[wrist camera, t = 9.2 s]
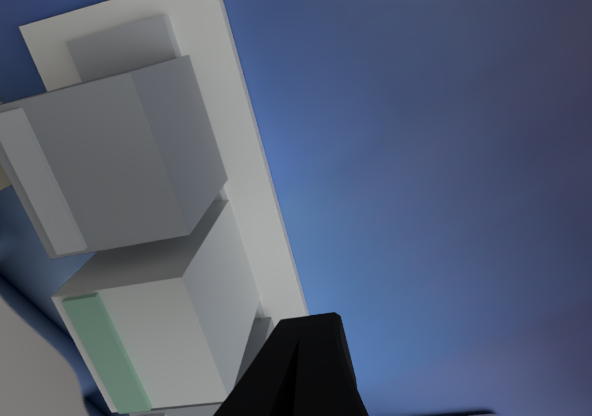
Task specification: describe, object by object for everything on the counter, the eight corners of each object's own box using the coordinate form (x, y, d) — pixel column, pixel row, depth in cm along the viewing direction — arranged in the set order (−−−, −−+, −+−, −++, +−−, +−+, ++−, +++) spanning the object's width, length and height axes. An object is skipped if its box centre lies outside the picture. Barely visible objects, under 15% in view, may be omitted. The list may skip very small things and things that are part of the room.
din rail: (335, 409, 25) (331, 533, 19) (200, 422, 26) (158, 540, 20) (214, -29, 17) (143, -48, 11) (28, 26, 18) (-123, 34, 12)
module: (260, 297, 21) (228, 405, 15) (170, 310, 22) (109, 416, 16) (229, 199, 19) (179, 281, 13) (132, 217, 20) (47, 300, 14)
